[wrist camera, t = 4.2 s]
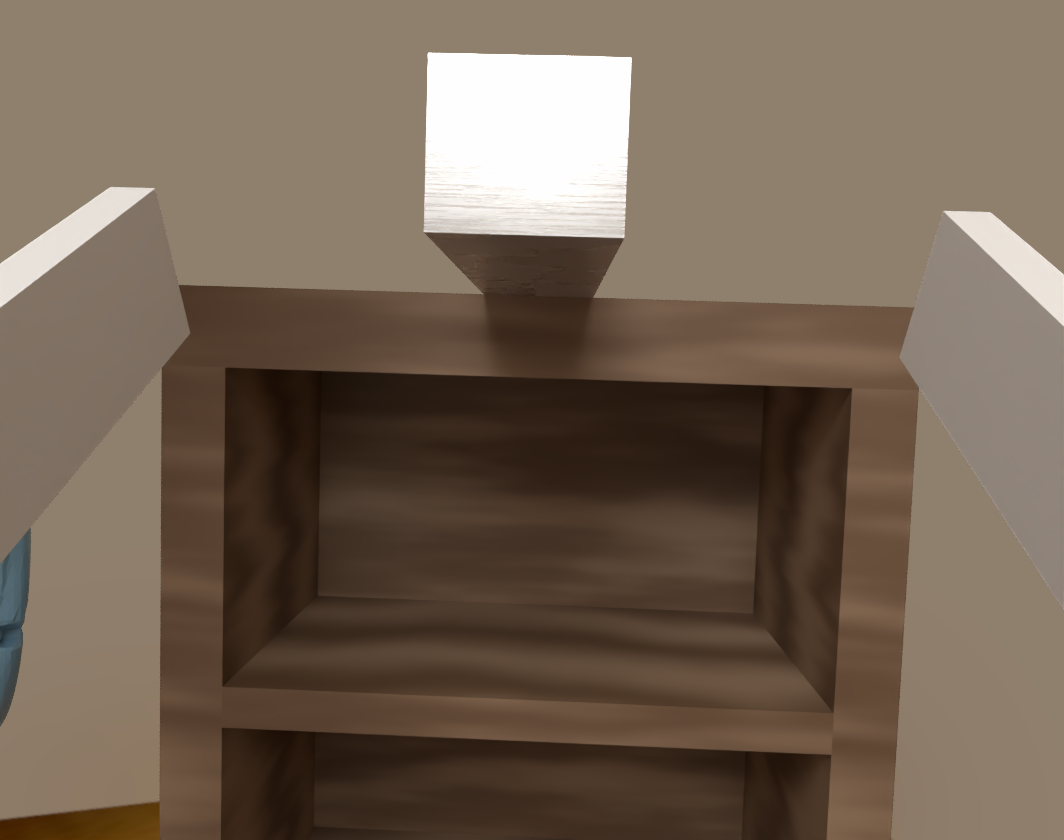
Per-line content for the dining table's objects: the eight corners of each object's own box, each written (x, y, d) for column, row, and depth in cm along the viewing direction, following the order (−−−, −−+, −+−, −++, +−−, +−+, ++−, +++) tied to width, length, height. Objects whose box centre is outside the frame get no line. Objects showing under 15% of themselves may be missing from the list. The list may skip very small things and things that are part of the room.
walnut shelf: (875, 1090, 32) (923, 307, 30) (158, 1050, 33) (162, 284, 31) (778, 871, 46) (807, 327, 44) (277, 846, 47) (284, 310, 45)
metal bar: (699, 240, 16) (725, -318, 16) (349, 230, 17) (359, -322, 16) (606, 322, 46) (614, 131, 46) (481, 319, 47) (487, 128, 46)
